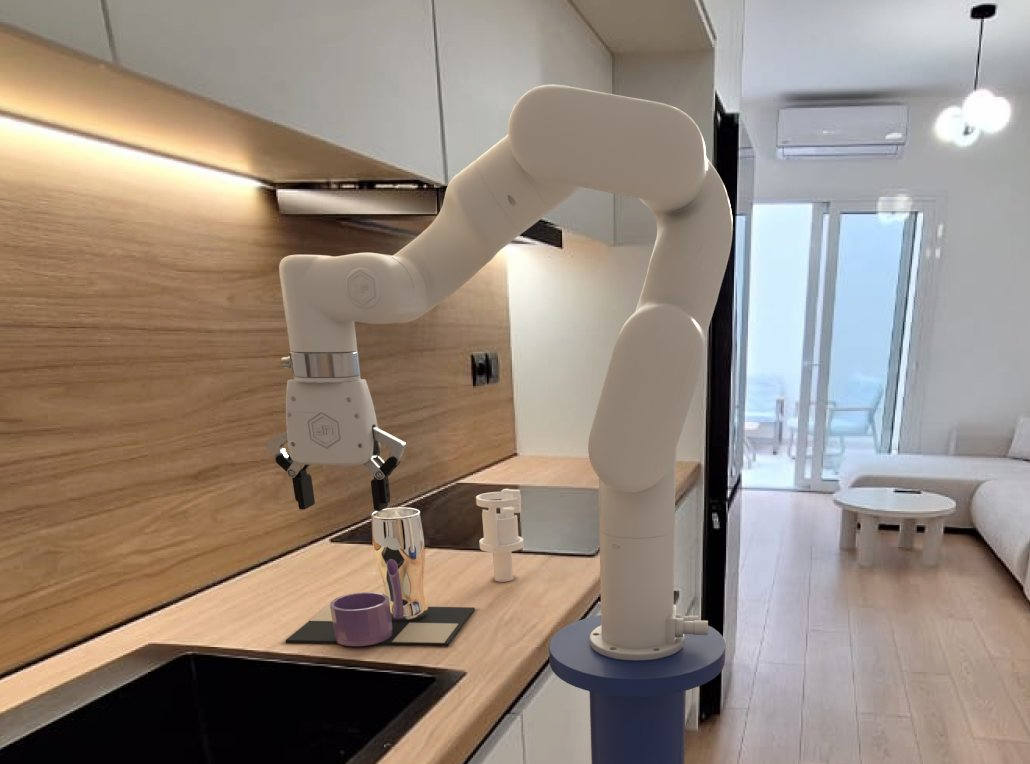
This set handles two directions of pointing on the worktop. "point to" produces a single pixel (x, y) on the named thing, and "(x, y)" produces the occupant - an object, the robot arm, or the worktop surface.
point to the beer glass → (401, 560)
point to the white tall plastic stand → (501, 529)
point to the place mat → (394, 628)
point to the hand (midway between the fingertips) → (344, 508)
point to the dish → (361, 618)
